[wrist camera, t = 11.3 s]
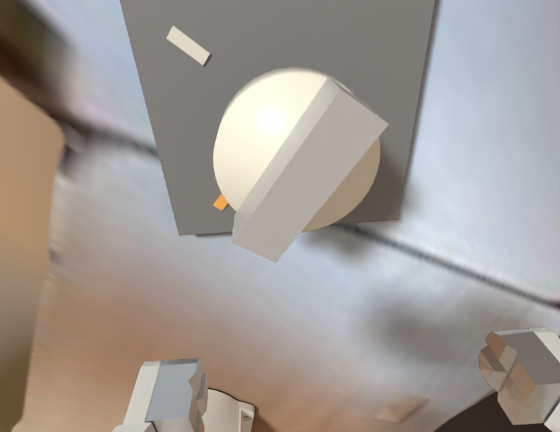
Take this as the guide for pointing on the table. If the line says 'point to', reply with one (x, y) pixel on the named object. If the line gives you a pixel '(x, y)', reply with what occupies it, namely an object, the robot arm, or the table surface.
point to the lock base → (263, 58)
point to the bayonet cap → (294, 156)
